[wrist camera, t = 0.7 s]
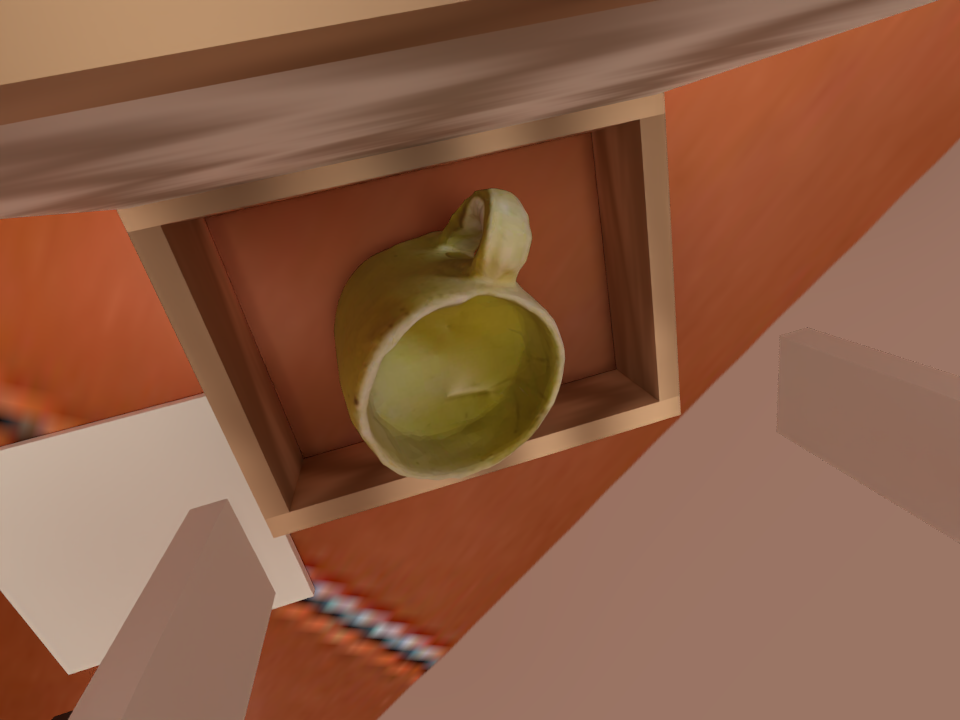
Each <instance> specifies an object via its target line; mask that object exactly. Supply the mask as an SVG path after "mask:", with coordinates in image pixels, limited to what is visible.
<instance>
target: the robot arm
mask: <svg viewBox="0 0 960 720" xmlns="http://www.w3.org/2000/svg"><path fill="white" fill-rule="evenodd" d="M779 343H780V344H779V374H778V403H777V433H779V434H781V435H782V436H784V437H785V438H787V439H789V440H790V441H792V442H794V443H795V444H797V445H799V446H800V447H802V448H804V449H805V450H807V451H809V452H810V453H812V454H813V455H815V456H817V457H819V458H820V459H822V460H823V461H825V462H827V463H828V464H830V465H832V466H833V467H835V468H836V469H838V470H840V471H841V472H843V473H845V474H846V475H848V476H850V477H851V478H853V479H855V480H857V481H858V482H859V483H861V484H863V485H865V486H866V487H868V488H869V489H871V490H873V491H874V492H876V493H878V494H879V495H881V496H883V497H884V498H886V499H888V500H889V501H891V502H892V503H894V504H896V505H897V506H899V507H901V508H903V509H904V510H906V511H907V512H909V513H911V514H912V515H914V516H916V517H917V518H919V519H921V520H922V521H924V522H925V523H927V524H929V525H930V526H932V527H934V528H935V529H937V530H938V531H940V532H942V533H943V534H945V535H947V536H949V537H950V538H952V539H953V540H955V541H957V542H958V543H960V376H957V375H954V374H951V373H948V372H945V371H942V370H939V369H935V368H932V367H929V366H926V365H923V364H919V363H917V362H914V361H911V360H907V359H904V358H901V357H898V356H895V355H892V354H889V353H886V352H883V351H879V350H876V349H873V348H870V347H867V346H864V345H861V344H858V343H854V342H851V341H848V340H845V339H842V338H839V337H836V336H833V335H829V334H827V333H823V332H820V331H817V330H814V329H811V328H808V327H807V328H804V329H800V330H797V331H794V332H790V333H787V334H784V335H780V342H779ZM275 594H276V592H275V591H274V589H273V587H272V585H271V583H270V581H269V579H268V577H267V575H266V573H265V571H264V569H263V567H262V565H261V563H260V561H259V559H258V557H257V555H256V553H255V552H254V550H253V548H252V546H251V544H250V542H249V540H248V538H247V536H246V534H245V532H244V530H243V528H242V526H241V524H240V522H239V520H238V518H237V516H236V514H235V513H234V511H233V509H232V507H231V505H230V503H229V501H228V499H224V500H220V501H217V502H213V503H210V504H207V505H203V506H200V507H196V508H193V509H190V510H189V512H188V513H187V515H186V517H185V519H184V520H183V522H182V524H181V526H180V527H179V529H178V531H177V532H176V534H175V536H174V538H173V539H172V541H171V543H170V544H169V546H168V548H167V550H166V551H165V553H164V555H163V557H162V558H161V560H160V562H159V563H158V565H157V567H156V569H155V570H154V572H153V574H152V576H151V577H150V579H149V581H148V582H147V584H146V586H145V588H144V589H143V591H142V593H141V595H140V596H139V598H138V600H137V601H136V603H135V605H134V607H133V608H132V610H131V612H130V613H129V615H128V617H127V619H126V620H125V622H124V624H123V626H122V627H121V629H120V631H119V632H118V634H117V636H116V638H115V639H114V641H113V643H112V645H111V646H110V648H109V650H108V651H107V653H106V655H105V657H104V658H103V660H102V662H101V664H100V665H99V667H98V669H97V670H96V672H95V674H94V676H93V677H92V679H91V681H90V682H89V684H88V686H87V688H86V689H85V691H84V693H83V695H82V696H81V698H80V700H79V701H78V703H77V705H76V707H75V708H74V710H73V711H70V712H67V713H64V714H61V715H58V716H55V717H54V718H53V719H52V720H244V719H245V715H246V711H247V707H248V703H249V699H250V694H251V690H252V686H253V682H254V678H255V674H256V670H257V666H258V662H259V658H260V654H261V650H262V646H263V642H264V638H265V634H266V630H267V626H268V622H269V618H270V614H271V610H272V606H273V602H274V598H275Z"/></svg>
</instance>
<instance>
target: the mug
mask: <svg viewBox="0 0 960 720" xmlns="http://www.w3.org/2000/svg"><path fill="white" fill-rule="evenodd" d="M531 241H532V234H531V230H530V226H529V217H528V214H527V213H526V211H525V209H524V207H523V205H522V204H521V202H520V201H519V199H518V198H517V197H516V196H515V195H513V194H512V193H511V192H508V191H505V190H501V189H495V188H490V189H484V190H478V191H475V192H474V193H473V195H471V196H470V197H469V198H467V199H466V200H464V202H463V203H462V204H461V206H460V207H459V208H458V209H457V211H456V212H455V213H454V214H453V215H452V216H451V218H450V221H449V223H448V224H447V226H446V227H445V228H444V230H443V231H435V232H431V233H428V234H426V235H423V236H420V237H418V238H415V239H411V240H408V241H405V242H402V243H400V244H397V245H395V246H393V247H391V248H390V249H387V250H385V251H382V252H380V253H377V254H375V255H373V256H372V257H370V258H369V259H367V260H366V261H364V262H363V263H362V264H361V265H360V266H359V267H358V268H357V269H356V270H355V272H354V273H353V274H352V276H351V277H350V278H349V280H348V281H347V283H346V285H345V286H344V288H343V291H342V293H341V296H340V298H339V301H338V305H337V310H336V316H335V324H334V337H335V346H336V356H337V364H338V371H339V380H340V385H341V389H342V392H343V395H344V398H345V402H346V405H347V409H348V412H349V416H350V419H351V421H352V423H353V425H354V426H355V428H356V429H357V431H358V432H359V434H360V435H361V437H362V439H363V440H364V441H365V442H366V444H367V445H368V446H369V448H370V449H371V450H372V451H373V452H374V453H375V454H376V456H377V457H378V459H379V460H380V462H381V463H382V464H383V465H385V466H387V467H388V468H390V469H391V470H393V471H394V472H396V473H397V474H399V475H402V476H406V477H411V478H416V479H430V480H443V479H447V478H458V479H460V478H463V477H466V476H469V475H471V474H474V473H476V472H478V471H481V470H484V469H488V468H490V467H492V466H494V465H496V464H498V463H500V462H501V461H502V460H504V459H505V458H506V457H508V456H509V455H510V454H512V453H513V452H514V451H515V450H516V449H518V448H519V447H520V446H521V445H523V444H524V443H525V442H526V441H527V440H528V439H529V438H530V437H531V436H532V435H533V434H534V433H535V431H536V430H537V429H538V428H539V426H540V425H541V423H542V422H543V420H544V418H545V417H546V415H547V414H548V412H549V410H550V409H551V407H552V406H553V404H554V402H555V399H556V397H557V394H558V391H559V388H560V385H561V381H562V376H563V371H564V362H565V351H564V346H563V342H562V339H561V336H560V333H559V330H558V328H557V325H556V322H555V321H554V319H553V318H552V317H551V315H550V314H549V313H548V312H547V310H546V309H544V308H543V307H542V306H541V305H540V304H539V303H538V302H537V301H536V300H535V299H534V298H533V297H532V296H530V295H529V294H528V293H527V292H526V291H524V290H523V289H522V288H521V287H520V285H519V284H518V283H517V282H516V278H517V275H518V273H519V271H520V269H521V268H522V266H523V265H524V263H525V262H526V260H527V257H528V253H529V249H530V245H531ZM476 250H477V252H476V254H475V256H474V252H475V251H476Z"/></svg>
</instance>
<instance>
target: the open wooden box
mask: <svg viewBox="0 0 960 720" xmlns="http://www.w3.org/2000/svg"><path fill="white" fill-rule="evenodd" d="M934 1H937V0H0V219H3V218H16V217H28V216H41V215H53V214H66V213H78V212H90V211H103V210H115V209H116V210H117V212H118V214H119V216H120V218H121V220H122V222H123V224H124V227H125V229H126V231H127V233H128V235H129V237H130V239H131V241H132V243H133V245H134V247H135V249H136V252H137V254H138V256H139V258H140V260H141V262H142V264H143V266H144V268H145V270H146V272H147V275H148V277H149V279H150V281H151V283H152V285H153V287H154V289H155V291H156V293H157V295H158V298H159V300H160V302H161V304H162V306H163V308H164V310H165V312H166V314H167V316H168V318H169V321H170V323H171V325H172V327H173V329H174V331H175V333H176V335H177V337H178V339H179V341H180V343H181V346H182V348H183V350H184V352H185V354H186V356H187V358H188V360H189V362H190V364H191V366H192V369H193V371H194V373H195V375H196V377H197V379H198V381H199V383H200V385H201V387H202V389H203V392H204V394H205V396H206V398H207V400H208V402H209V404H210V406H211V408H212V410H213V412H214V415H215V417H216V419H217V421H218V423H219V425H220V427H221V429H222V431H223V433H224V435H225V437H226V440H227V442H228V444H229V446H230V448H231V450H232V452H233V454H234V456H235V458H236V460H237V463H238V465H239V467H240V469H241V471H242V473H243V475H244V477H245V479H246V481H247V483H248V486H249V488H250V490H251V492H252V494H253V496H254V498H255V500H256V502H257V504H258V506H259V508H260V511H261V513H262V515H263V517H264V519H265V521H266V523H267V525H268V527H269V529H270V531H271V534H272V536H273V538H276V537H280V536H283V535H286V534H290V533H293V532H296V531H299V530H303V529H306V528H309V527H313V526H316V525H319V524H322V523H326V522H329V521H332V520H336V519H339V518H342V517H345V516H349V515H352V514H355V513H359V512H362V511H365V510H368V509H372V508H375V507H378V506H382V505H385V504H388V503H391V502H395V501H398V500H401V499H405V498H408V497H411V496H414V495H418V494H421V493H424V492H428V491H431V490H434V489H437V488H441V487H444V486H447V485H451V484H454V483H457V482H460V481H464V480H467V479H470V478H474V477H477V476H480V475H483V474H487V473H490V472H493V471H497V470H500V469H503V468H506V467H510V466H513V465H516V464H520V463H523V462H526V461H530V460H533V459H536V458H539V457H543V456H546V455H549V454H553V453H556V452H559V451H562V450H566V449H569V448H572V447H576V446H579V445H582V444H585V443H589V442H592V441H595V440H599V439H602V438H605V437H608V436H612V435H615V434H618V433H622V432H625V431H628V430H631V429H635V428H638V427H641V426H645V425H648V424H651V423H654V422H658V421H661V420H664V419H668V418H671V417H674V416H677V415H681V412H680V393H679V373H678V354H677V334H676V315H675V295H674V275H673V256H672V236H671V217H670V197H669V178H668V158H667V139H666V119H665V100H664V92H665V91H668V90H671V89H674V88H677V87H680V86H683V85H686V84H689V83H692V82H695V81H698V80H701V79H704V78H707V77H710V76H713V75H716V74H719V73H722V72H725V71H728V70H731V69H734V68H737V67H740V66H743V65H746V64H749V63H752V62H755V61H758V60H761V59H764V58H767V57H770V56H773V55H776V54H779V53H782V52H785V51H788V50H791V49H794V48H797V47H800V46H803V45H806V44H809V43H812V42H815V41H818V40H821V39H824V38H827V37H830V36H833V35H836V34H839V33H842V32H845V31H848V30H851V29H854V28H857V27H860V26H863V25H866V24H869V23H872V22H875V21H877V20H880V19H883V18H886V17H889V16H892V15H895V14H898V13H901V12H904V11H907V10H910V9H913V8H916V7H919V6H922V5H925V4H928V3H931V2H934ZM588 132H591V134H592V144H593V153H594V163H595V172H596V182H597V191H598V201H599V210H600V220H601V229H602V238H603V248H604V257H605V267H606V276H607V286H608V295H609V305H610V314H611V324H612V333H613V342H614V352H615V361H616V369H615V370H612V371H608V372H605V373H601V374H598V375H594V376H591V377H587V378H584V379H580V380H577V381H573V382H570V383H566V384H563V385H560V388H559V391H558V394H557V397H556V399H555V402H554V404H553V406H552V407H551V409H550V410H549V412H548V414H547V415H546V417H545V418H544V420H543V422H542V423H541V425H540V426H539V428H538V429H537V430H536V431H535V433H534V434H533V435H532V436H531V437H530V438H529V439H528V440H527V441H526V442H525V443H524V444H523V445H521V446H520V447H519V448H518V449H516V450H515V451H514V452H513V453H512V454H510V455H509V456H508V457H506V458H505V459H504V460H502V461H501V462H500V463H498V464H496V465H494V466H492V467H490V468H488V469H484V470H481V471H478V472H476V473H474V474H471V475H469V476H466V477H463V478H460V479H458V478H447V479H443V480H430V479H416V478H411V477H406V476H402V475H399V474H397V473H396V472H394V471H393V470H391V469H390V468H388V467H387V466H385V465H383V464H382V463H381V462H380V460H379V459H378V457H377V456H376V454H375V453H374V452H373V451H372V450H371V449H370V448H369V446H368V445H367V444H366V442H365V441H364V442H361V443H357V444H354V445H350V446H347V447H343V448H340V449H336V450H333V451H329V452H326V453H322V454H319V455H315V456H312V457H308V458H305V459H303V456H302V454H301V451H300V449H299V447H298V444H297V442H296V439H295V437H294V435H293V432H292V430H291V427H290V425H289V422H288V420H287V418H286V415H285V413H284V410H283V408H282V406H281V403H280V401H279V398H278V396H277V393H276V391H275V389H274V386H273V384H272V381H271V379H270V377H269V374H268V372H267V369H266V367H265V364H264V362H263V360H262V357H261V355H260V352H259V350H258V348H257V345H256V343H255V340H254V338H253V336H252V333H251V331H250V328H249V326H248V323H247V321H246V319H245V316H244V314H243V311H242V309H241V307H240V304H239V302H238V299H237V297H236V294H235V292H234V290H233V287H232V285H231V282H230V280H229V278H228V275H227V273H226V270H225V268H224V265H223V263H222V261H221V258H220V256H219V253H218V251H217V249H216V246H215V244H214V241H213V239H212V236H211V234H210V232H209V229H208V227H207V224H206V222H205V220H204V218H205V217H209V216H214V215H218V214H223V213H227V212H232V211H237V210H241V209H246V208H250V207H255V206H259V205H264V204H268V203H273V202H277V201H282V200H286V199H291V198H295V197H300V196H304V195H309V194H313V193H318V192H322V191H327V190H331V189H336V188H340V187H345V186H349V185H354V184H358V183H363V182H367V181H372V180H376V179H381V178H385V177H390V176H394V175H399V174H403V173H408V172H412V171H417V170H421V169H426V168H430V167H435V166H439V165H444V164H448V163H453V162H457V161H462V160H466V159H471V158H475V157H480V156H485V155H489V154H494V153H498V152H503V151H507V150H512V149H516V148H521V147H525V146H530V145H534V144H539V143H543V142H548V141H552V140H557V139H561V138H566V137H570V136H575V135H579V134H584V133H588Z"/></svg>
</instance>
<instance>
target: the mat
mask: <svg viewBox="0 0 960 720" xmlns="http://www.w3.org/2000/svg"><path fill="white" fill-rule="evenodd" d="M224 499H228V501H229V503H230V505H231V507H232V509H233V511H234V513H235V514H236V516H237V518H238V520H239V522H240V524H241V526H242V528H243V530H244V532H245V534H246V536H247V538H248V540H249V542H250V544H251V546H252V548H253V550H254V552H255V553H256V555H257V557H258V559H259V561H260V563H261V565H262V567H263V569H264V571H265V573H266V575H267V577H268V579H269V581H270V583H271V585H272V587H273V589H274V591H275V592H276V594H275V598H274V602H273V606H272V609H275V608H278V607H281V606H285V605H288V604H291V603H294V602H297V601H300V600H303V599H306V598H309V597H312V596H314V592H315V588H314V586H313V584H312V581H311V579H310V577H309V575H308V573H307V571H306V568H305V566H304V564H303V562H302V560H301V558H300V555H299V553H298V551H297V549H296V547H295V545H294V542H293V540H292V538H291V536H290V534H286V535H283V536H280V537H276V538H273V536H272V534H271V531H270V529H269V527H268V525H267V523H266V521H265V519H264V517H263V515H262V513H261V511H260V508H259V506H258V504H257V502H256V500H255V498H254V496H253V494H252V492H251V490H250V488H249V486H248V483H247V481H246V479H245V477H244V475H243V473H242V471H241V469H240V467H239V465H238V463H237V460H236V458H235V456H234V454H233V452H232V450H231V448H230V446H229V444H228V442H227V440H226V437H225V435H224V433H223V431H222V429H221V427H220V425H219V423H218V421H217V419H216V417H215V415H214V412H213V410H212V408H211V406H210V404H209V402H208V400H207V398H206V396H205V394H204V393H202V394H198V395H195V396H191V397H187V398H183V399H179V400H176V401H172V402H168V403H164V404H160V405H157V406H153V407H149V408H145V409H142V410H138V411H134V412H130V413H126V414H123V415H119V416H115V417H111V418H107V419H104V420H100V421H96V422H92V423H89V424H85V425H81V426H77V427H73V428H70V429H66V430H62V431H58V432H54V433H51V434H47V435H43V436H39V437H36V438H32V439H28V440H24V441H20V442H17V443H13V444H9V445H5V446H1V447H0V590H1V592H2V593H3V594H4V595H5V597H6V598H7V599H8V600H9V602H10V603H11V604H12V605H13V607H14V608H15V609H16V610H17V611H18V613H19V614H20V615H21V616H22V618H23V619H24V620H25V621H26V623H27V624H28V625H29V626H30V628H31V629H32V630H33V631H34V633H35V634H36V635H37V636H38V638H39V639H40V640H41V641H42V643H43V644H44V645H45V646H46V648H47V649H48V650H49V651H50V652H51V654H52V655H53V656H54V657H55V659H56V660H57V661H58V662H59V664H60V665H61V666H62V667H63V669H64V670H65V671H66V672H67V674H68V675H70V674H73V673H76V672H79V671H82V670H86V669H89V668H92V667H95V666H98V665H100V664H101V662H102V660H103V658H104V657H105V655H106V653H107V651H108V650H109V648H110V646H111V645H112V643H113V641H114V639H115V638H116V636H117V634H118V632H119V631H120V629H121V627H122V626H123V624H124V622H125V620H126V619H127V617H128V615H129V613H130V612H131V610H132V608H133V607H134V605H135V603H136V601H137V600H138V598H139V596H140V595H141V593H142V591H143V589H144V588H145V586H146V584H147V582H148V581H149V579H150V577H151V576H152V574H153V572H154V570H155V569H156V567H157V565H158V563H159V562H160V560H161V558H162V557H163V555H164V553H165V551H166V550H167V548H168V546H169V544H170V543H171V541H172V539H173V538H174V536H175V534H176V532H177V531H178V529H179V527H180V526H181V524H182V522H183V520H184V519H185V517H186V515H187V513H188V512H189V510H190V509H193V508H196V507H200V506H203V505H207V504H210V503H213V502H217V501H220V500H224Z"/></svg>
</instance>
